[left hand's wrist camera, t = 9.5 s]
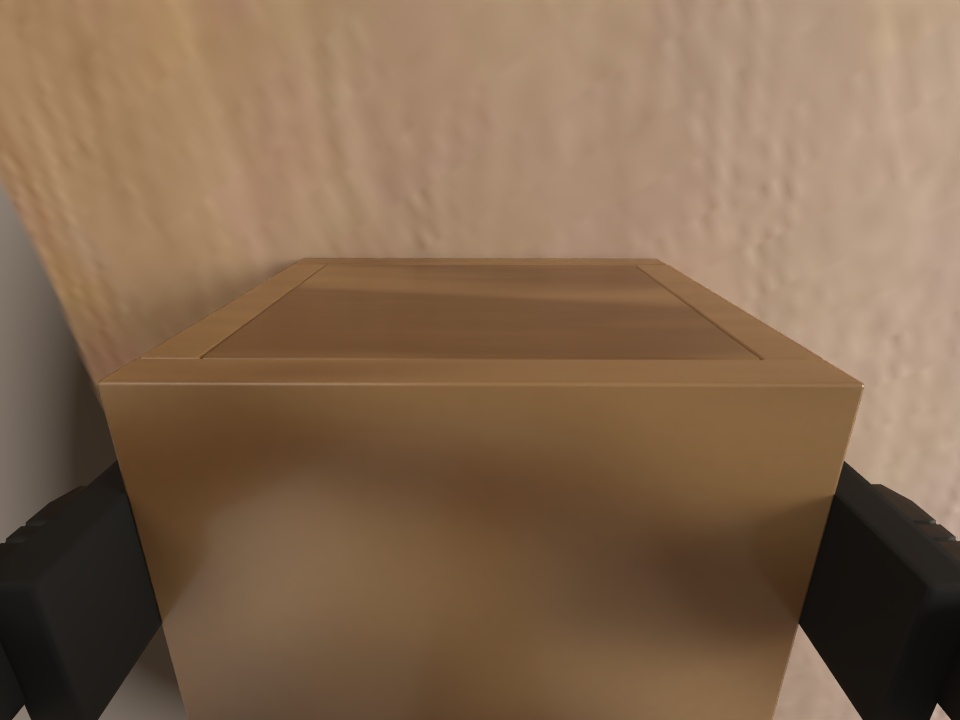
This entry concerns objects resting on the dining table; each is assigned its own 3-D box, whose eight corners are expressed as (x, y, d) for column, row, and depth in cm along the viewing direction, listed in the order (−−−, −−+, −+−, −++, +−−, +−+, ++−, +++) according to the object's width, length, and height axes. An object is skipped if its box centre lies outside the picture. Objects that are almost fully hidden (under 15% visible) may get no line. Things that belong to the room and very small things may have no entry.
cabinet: (611, 656, 23) (698, 990, 14) (347, 655, 23) (259, 990, 14) (658, 258, 17) (867, 383, 8) (302, 257, 17) (93, 382, 8)
